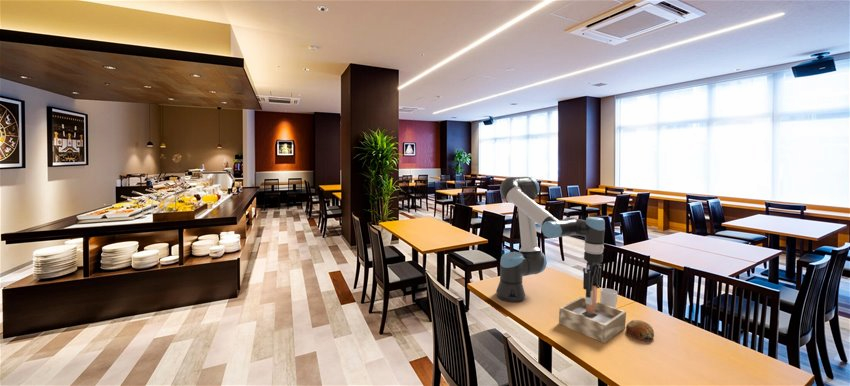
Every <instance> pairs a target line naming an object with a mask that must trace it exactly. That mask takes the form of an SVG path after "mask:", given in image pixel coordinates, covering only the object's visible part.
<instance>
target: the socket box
mask: <svg viewBox="0 0 850 386" xmlns="http://www.w3.org/2000/svg"><path fill="white" fill-rule="evenodd" d="M585 298H586V297H583V296H580V297H579V298H576V299H574V300H572V301H571V302H569V303H566V304H564V305H563V306H561V307H559V309H558V310H559V311H558V313H559V314H558V325H561V326H564V327H565V328H568V329H570V330H572V331H574V332H577V333H580V334H582V335H584V336H587V337H589V338H591V339H594V340H595V341H599V342H601V343H604V344H605V343H607V342H608V341H610V340H611V339H612V338H614V337H615V336H616V335H617V334H619V333H620V332H622V331H623V330H625V329H626V320H627V311H626V310H622V309H620V308H617V307H616V308H614V307H611V306H608V305H605V304H602V303H600V301H599V302H598V301H596V303H595V313H593V314H592V313H588V312H586V303H585Z"/></svg>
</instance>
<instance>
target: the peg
mask: <svg viewBox="0 0 850 386" xmlns="http://www.w3.org/2000/svg"><path fill="white" fill-rule="evenodd" d="M592 291H593V297H592V305H589V304H586V312H588V313H592V314H593V313H595V301H596V302H597V300H596V286H594V285H592Z"/></svg>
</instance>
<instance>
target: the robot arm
mask: <svg viewBox="0 0 850 386" xmlns="http://www.w3.org/2000/svg"><path fill="white" fill-rule="evenodd" d="M499 186H500V187H499V193H500V194H501V196H502V198H503V199H504V200H505V201H506V202H508V203H509V204H513V205H514V206H515V207H517V211H518V223H519V235H520V245H521V247H520V249H518V251H508V252H504V253H503V254H502V255H501V257H500V263H499V264H500V267H499V268H500V270H499V274H500V275H499V283H498V285H497V289H496V292H495V293H496V295H495V296H496V298H498V299H499V300H501V301H504V302H507V303H520V302H523V301H525V299H526V292H525V288H524V286H523V278H524V277H525V276H531V275H539V274H541V273H542V272H544V271H545V270H546V268H547V261H548V260H547V257H546V255H545V254H544V252H542V249H541V248H540V247H539V246H538V237H537V226H536V224H537V225H538V226H540V227H541V232H542V234H543V236H544V237H546V238H548V239H556V238H562V237H568V236H570V237H571V236H580V237H582V238H583V237H584V252H583V255H584V256H583V260H584V261H586V267H585V268H582V272H583V279H582V280H583V282H582V283H583V288H582V289H583V290H585V297H584V298H585V303H586V304H589V305H592V297H593V291H592V285H594V286H596V301H595V303H596V302H597V299H598V289H600V285H601V277H602V269H603V264H602V263H603V259H604V254H603V253H604V249H605V247H604V246H605V245H604V244H605V243H604V241H605V232H606V231H605V230H606V227H605V226H606V222H605V219H604V218H602V217H596V216H588V217H586V219H579V218H576V217H565V218H564V219H558V218H556V217H555V216H554V215H552V214H551V213H550V212H549V211H548V210H546V209H545V208H544V207H542V206H541V205H540V204H538V203H537V202H536V200H537V196H538V195H539V193H540V184H539V182H538V181H537V180H536V179H535V178H534V177H531V176H516V177H514V176H510V177H506V178H505V179H504V180H503V181H502V182H501V184H500V185H499Z"/></svg>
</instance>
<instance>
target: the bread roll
mask: <svg viewBox="0 0 850 386" xmlns="http://www.w3.org/2000/svg"><path fill="white" fill-rule="evenodd" d="M625 331H626V333H627V335H629V336H630V337H631V338H633V339H636V340H639V341H644V342H645V341H646V342H649V341H652V340H653V339H654V337H655V331H654V328H653V326H651V324H650V323H648V322H646V321H644V320H640V319H639V320H638V319H633V320H630V321H629V322H628V323H626V325H625Z"/></svg>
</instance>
